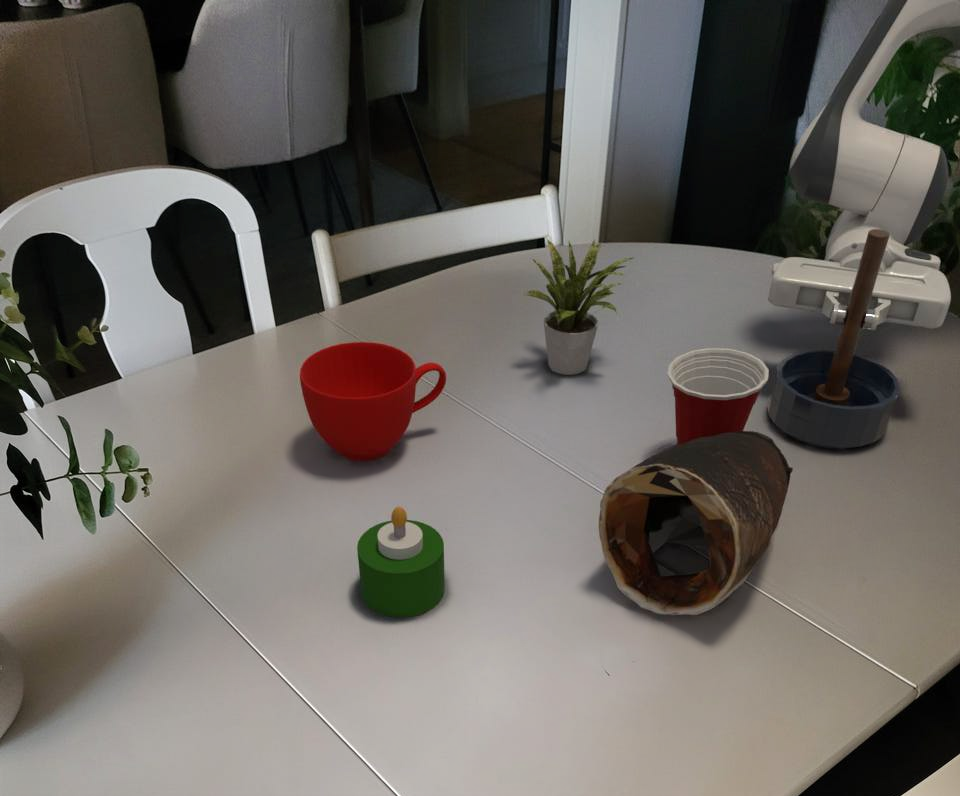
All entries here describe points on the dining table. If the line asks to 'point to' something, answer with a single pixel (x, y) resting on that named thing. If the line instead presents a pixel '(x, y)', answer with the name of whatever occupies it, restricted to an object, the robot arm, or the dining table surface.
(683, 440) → the plastic cup
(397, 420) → the ceramic cup
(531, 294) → the house plant
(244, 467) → the dining table surface
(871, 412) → the bowl
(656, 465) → the brown hollow cylinder
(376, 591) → the candle
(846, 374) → the stirring stick
